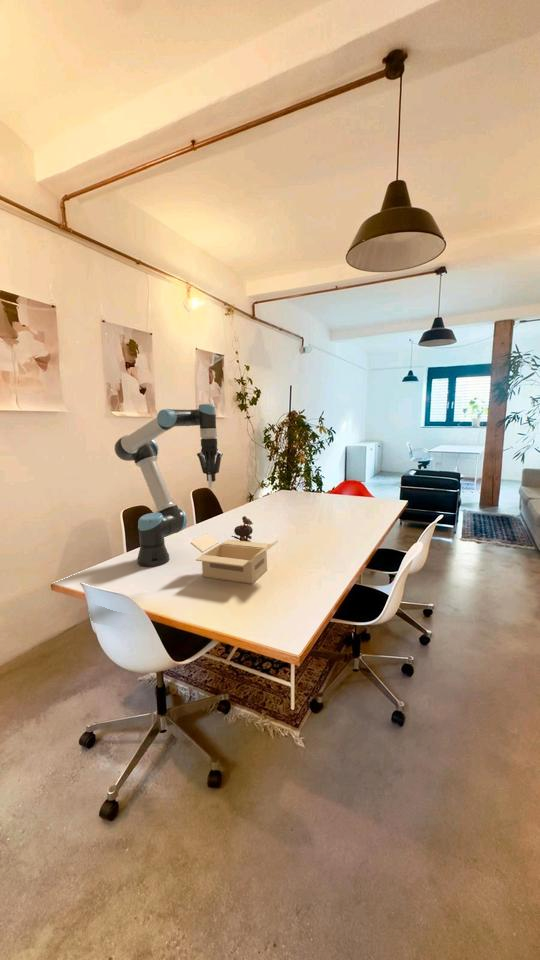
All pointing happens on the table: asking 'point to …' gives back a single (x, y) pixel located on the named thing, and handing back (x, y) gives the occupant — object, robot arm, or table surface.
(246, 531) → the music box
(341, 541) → the table surface
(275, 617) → the table surface
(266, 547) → the flap
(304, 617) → the table surface
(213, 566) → the carton
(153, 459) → the robot arm
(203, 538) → the flap
